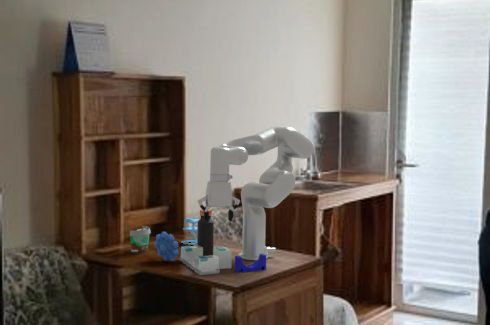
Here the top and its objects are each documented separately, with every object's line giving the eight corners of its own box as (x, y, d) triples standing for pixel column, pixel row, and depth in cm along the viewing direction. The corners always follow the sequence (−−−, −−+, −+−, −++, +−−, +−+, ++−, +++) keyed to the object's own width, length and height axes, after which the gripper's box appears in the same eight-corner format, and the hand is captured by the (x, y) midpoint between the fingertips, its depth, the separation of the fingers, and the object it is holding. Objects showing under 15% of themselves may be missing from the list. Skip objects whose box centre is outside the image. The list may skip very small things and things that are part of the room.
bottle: (216, 258, 299) (216, 210, 297) (201, 259, 296) (201, 211, 294) (209, 254, 305) (209, 208, 303) (194, 256, 302) (195, 209, 300)
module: (224, 264, 289) (225, 245, 288) (231, 268, 283) (231, 249, 282) (213, 264, 287) (213, 246, 286) (219, 269, 281) (219, 250, 280)
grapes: (148, 261, 291) (148, 232, 290) (157, 258, 297) (157, 229, 296) (173, 264, 286) (173, 235, 284) (181, 261, 292) (182, 232, 290)
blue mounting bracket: (260, 267, 285) (261, 252, 284) (266, 270, 281) (266, 255, 280) (233, 270, 280) (233, 255, 279) (238, 273, 276) (238, 257, 275)
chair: (205, 243, 327) (206, 217, 326) (192, 246, 321) (193, 219, 320) (193, 240, 332) (194, 215, 331) (180, 243, 326) (181, 217, 325)
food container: (142, 255, 301) (142, 231, 300) (129, 254, 303) (129, 230, 302) (155, 249, 313) (155, 226, 312) (142, 248, 315) (142, 225, 314)
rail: (198, 259, 296) (198, 244, 295) (219, 273, 274) (219, 257, 273) (180, 260, 293) (180, 246, 292) (199, 275, 271) (199, 259, 270)
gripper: (237, 177, 289) (236, 218, 291) (195, 177, 284) (195, 220, 286) (243, 179, 282) (242, 222, 284) (200, 179, 277) (199, 223, 278)
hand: (218, 221), depth 285 cm, fingers open, 9 cm apart
